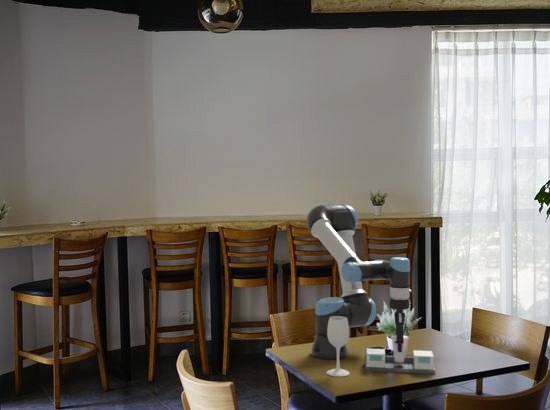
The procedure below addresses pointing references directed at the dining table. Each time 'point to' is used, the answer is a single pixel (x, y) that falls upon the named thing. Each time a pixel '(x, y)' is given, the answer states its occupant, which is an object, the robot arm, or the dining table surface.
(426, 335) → the dining table surface
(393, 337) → the smoothie
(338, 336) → the wineglass
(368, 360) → the mounted modules
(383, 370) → the rail plate
